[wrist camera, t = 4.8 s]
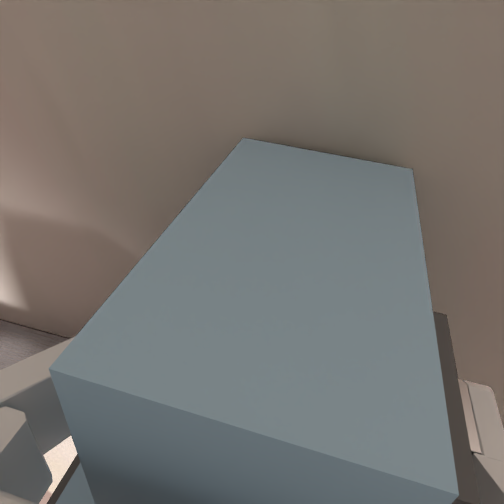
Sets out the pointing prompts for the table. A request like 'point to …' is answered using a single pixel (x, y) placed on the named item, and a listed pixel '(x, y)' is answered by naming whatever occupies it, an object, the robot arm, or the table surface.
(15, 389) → the robot arm
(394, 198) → the light blue block
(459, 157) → the table surface
